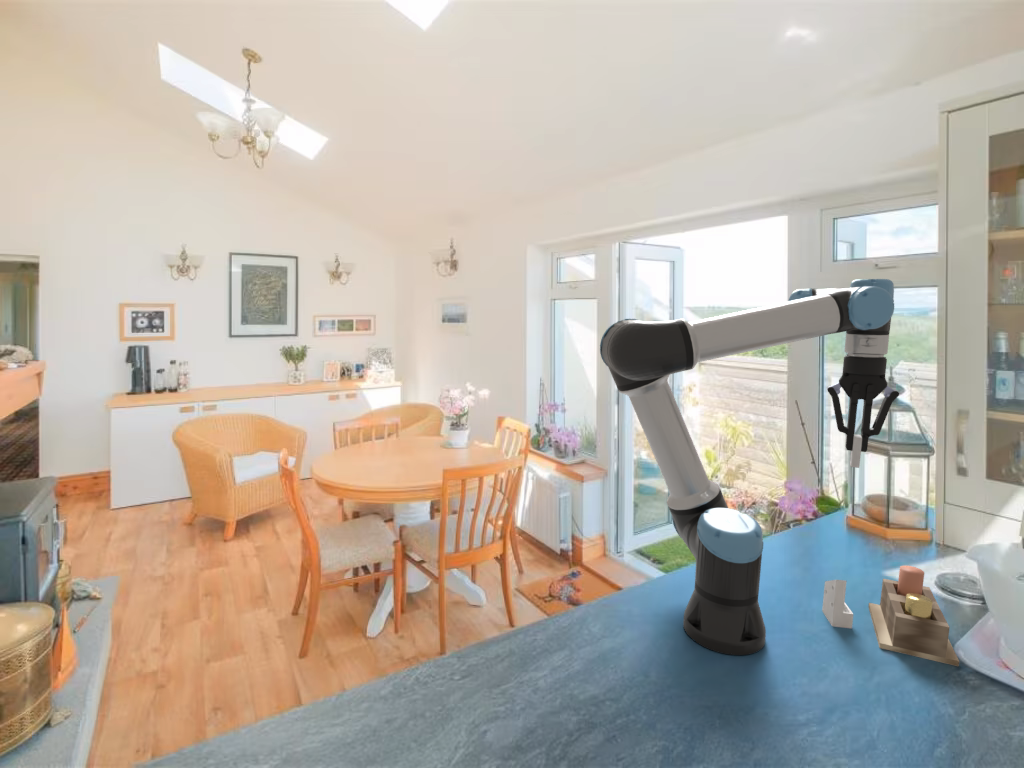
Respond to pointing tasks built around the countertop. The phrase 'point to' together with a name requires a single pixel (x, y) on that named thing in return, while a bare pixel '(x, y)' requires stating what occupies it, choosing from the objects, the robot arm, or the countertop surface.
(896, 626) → the socket block
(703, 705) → the countertop surface
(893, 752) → the countertop surface
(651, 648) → the countertop surface
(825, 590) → the white wedge bracket
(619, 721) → the countertop surface
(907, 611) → the brass plug
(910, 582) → the red plug
